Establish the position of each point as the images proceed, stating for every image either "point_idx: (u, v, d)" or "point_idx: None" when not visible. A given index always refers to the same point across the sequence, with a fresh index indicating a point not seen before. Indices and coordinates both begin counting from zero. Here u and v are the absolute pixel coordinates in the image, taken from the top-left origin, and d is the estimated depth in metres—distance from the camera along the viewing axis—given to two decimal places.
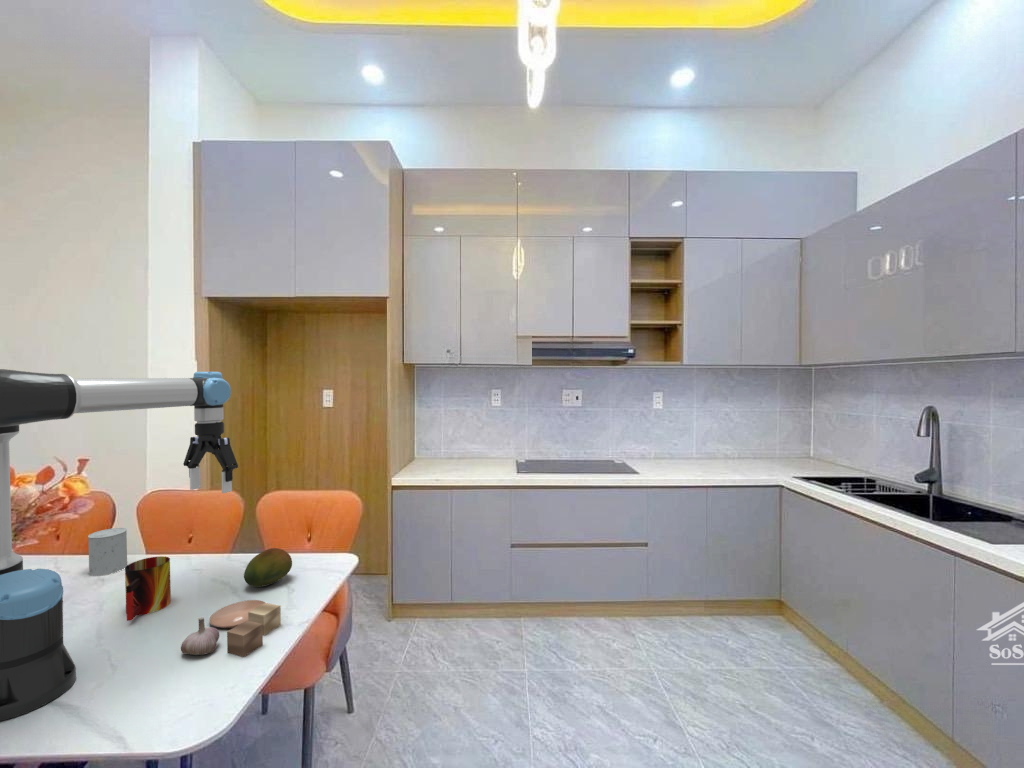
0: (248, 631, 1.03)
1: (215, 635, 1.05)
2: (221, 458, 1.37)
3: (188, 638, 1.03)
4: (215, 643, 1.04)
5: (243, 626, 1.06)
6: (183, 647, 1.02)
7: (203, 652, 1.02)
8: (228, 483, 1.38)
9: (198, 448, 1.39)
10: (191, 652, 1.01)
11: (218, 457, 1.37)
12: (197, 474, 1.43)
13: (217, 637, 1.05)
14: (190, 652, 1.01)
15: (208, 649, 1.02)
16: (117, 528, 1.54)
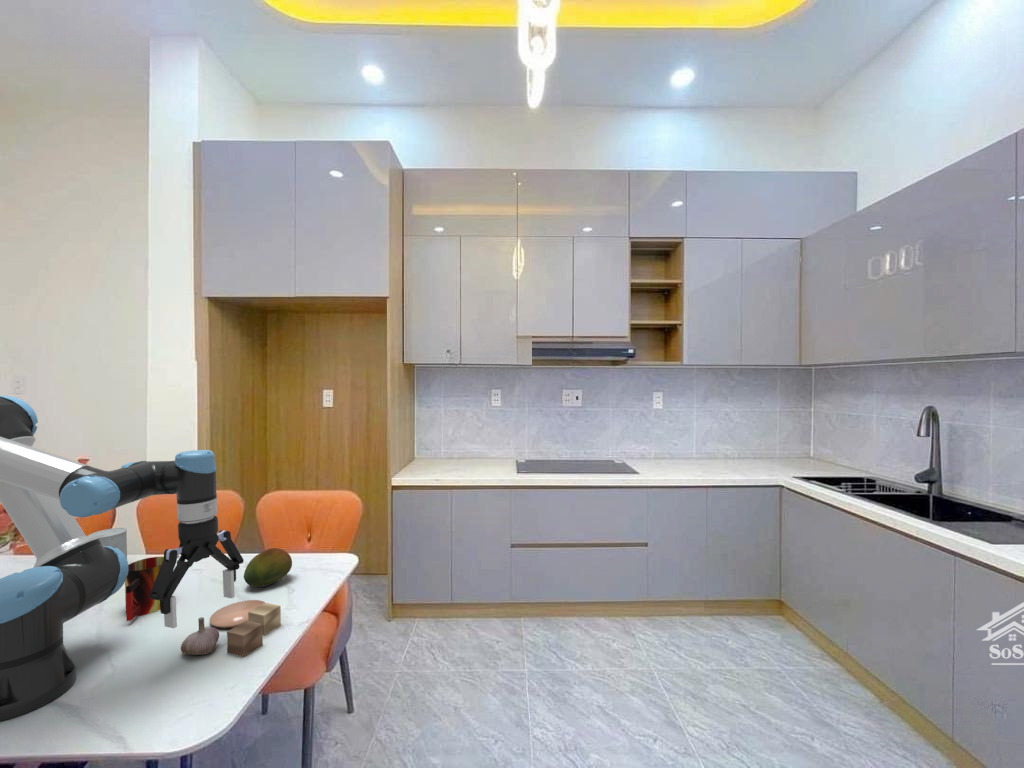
0: (248, 631, 1.03)
1: (215, 636, 1.05)
2: (170, 576, 0.99)
3: (188, 638, 1.03)
4: (215, 643, 1.04)
5: (243, 626, 1.06)
6: (183, 647, 1.02)
7: (203, 652, 1.02)
8: (169, 615, 0.97)
9: None
10: (191, 652, 1.01)
11: None
12: (228, 579, 1.10)
13: (217, 637, 1.05)
14: (190, 652, 1.01)
15: (208, 649, 1.02)
16: (117, 528, 1.54)
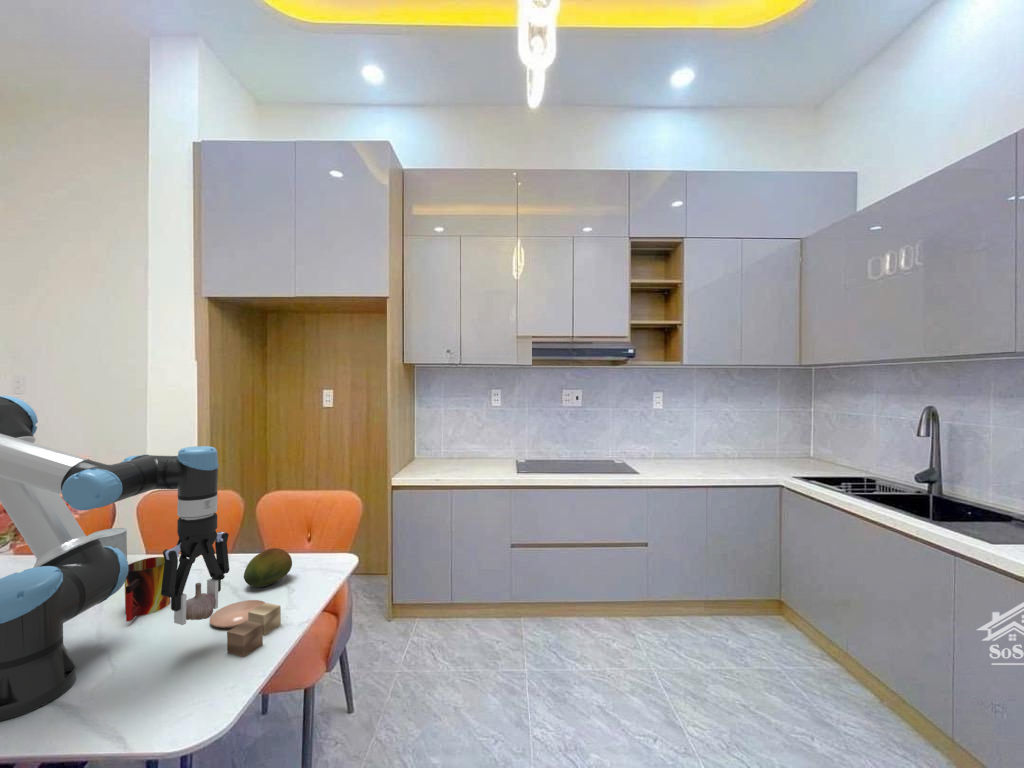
0: (248, 631, 1.03)
1: (212, 602, 1.04)
2: (176, 574, 1.00)
3: None
4: (211, 609, 1.04)
5: (243, 626, 1.06)
6: None
7: (199, 617, 1.01)
8: (179, 612, 1.00)
9: None
10: (187, 617, 1.01)
11: None
12: (212, 589, 1.07)
13: (214, 603, 1.05)
14: (186, 617, 1.01)
15: (204, 615, 1.02)
16: (117, 528, 1.54)
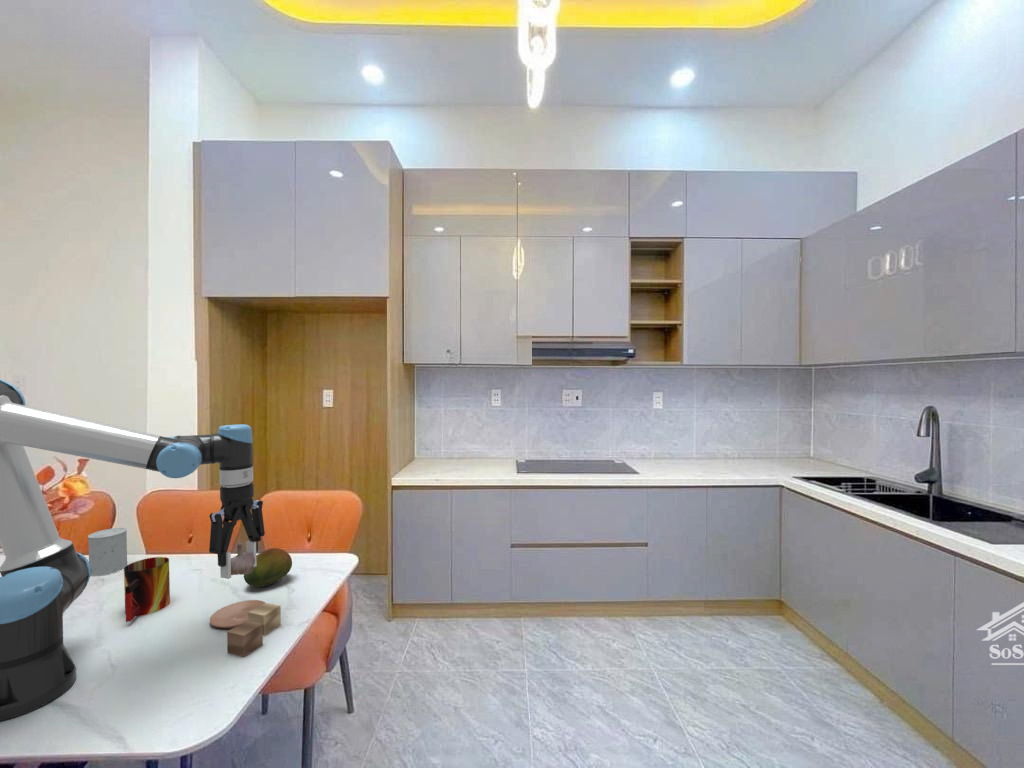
0: (248, 631, 1.03)
1: (252, 559, 1.19)
2: (221, 535, 1.15)
3: None
4: (252, 565, 1.18)
5: (243, 626, 1.06)
6: None
7: (242, 572, 1.16)
8: (224, 568, 1.15)
9: None
10: (232, 572, 1.16)
11: None
12: (251, 550, 1.22)
13: (253, 561, 1.20)
14: (231, 572, 1.16)
15: (246, 570, 1.17)
16: (117, 528, 1.54)
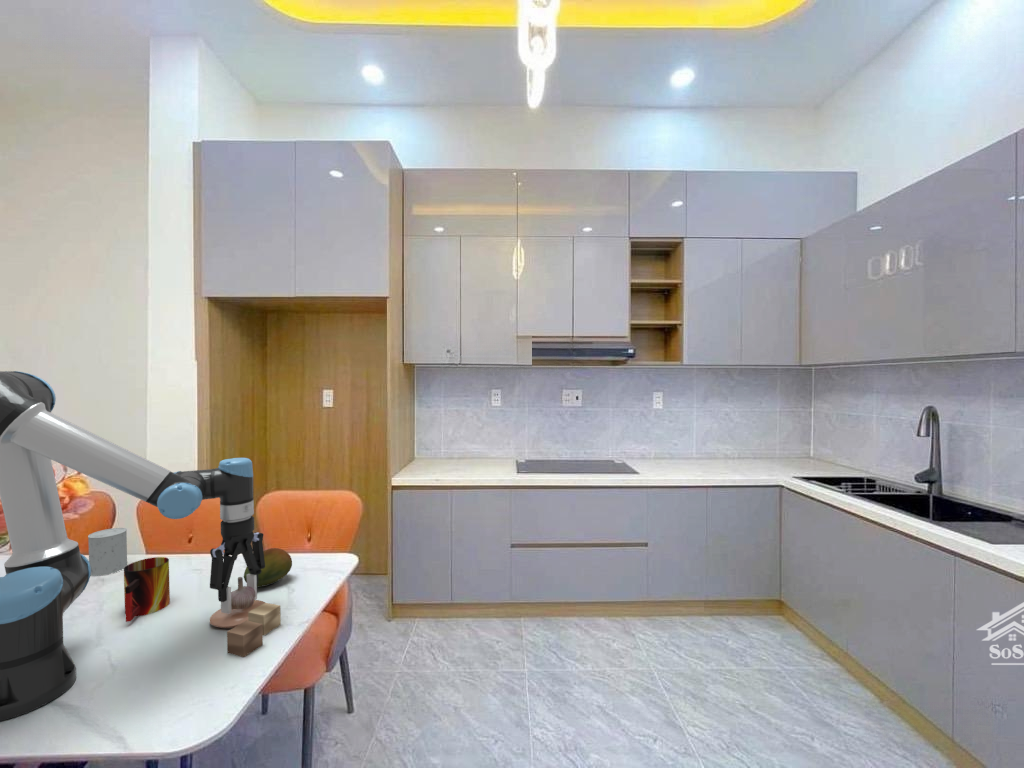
0: (248, 631, 1.03)
1: (252, 593, 1.19)
2: (222, 570, 1.15)
3: None
4: (252, 599, 1.19)
5: (243, 626, 1.06)
6: None
7: (243, 606, 1.16)
8: (225, 603, 1.15)
9: None
10: (232, 606, 1.16)
11: None
12: (251, 583, 1.22)
13: (254, 595, 1.20)
14: (232, 606, 1.16)
15: (247, 604, 1.17)
16: (117, 528, 1.54)
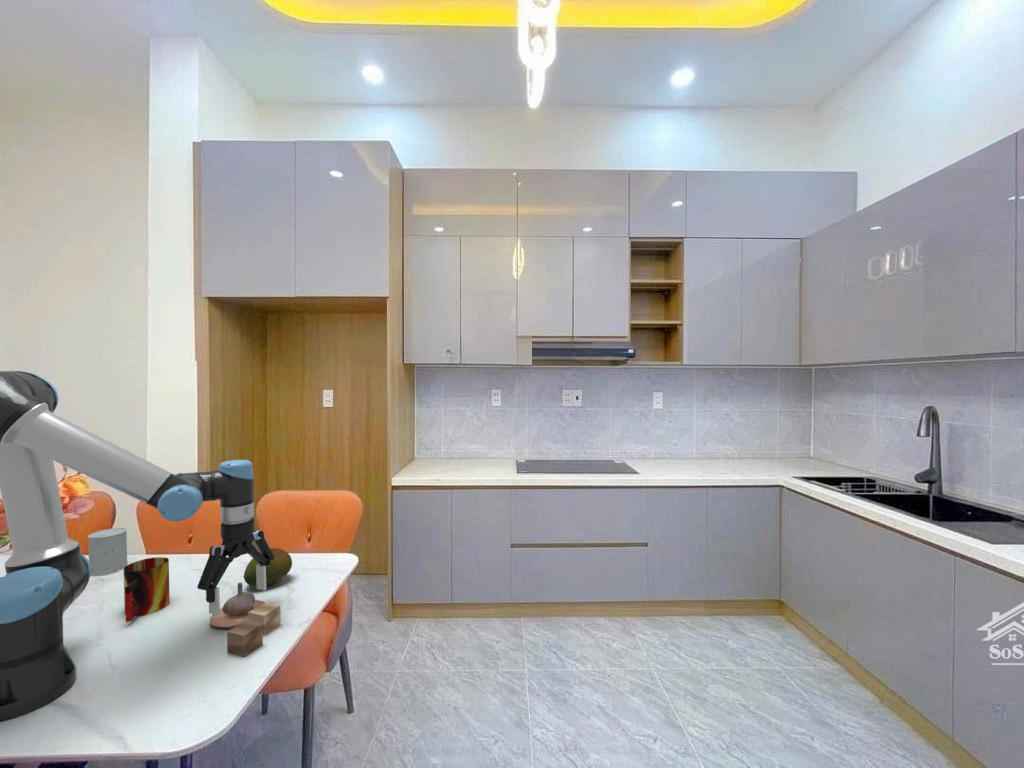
0: (248, 631, 1.03)
1: (252, 599, 1.19)
2: None
3: (229, 600, 1.18)
4: (252, 605, 1.19)
5: (243, 626, 1.06)
6: (225, 608, 1.16)
7: (242, 612, 1.16)
8: (213, 604, 1.12)
9: None
10: (232, 612, 1.16)
11: None
12: (261, 574, 1.25)
13: (253, 600, 1.20)
14: (231, 612, 1.16)
15: (246, 610, 1.17)
16: (117, 528, 1.54)
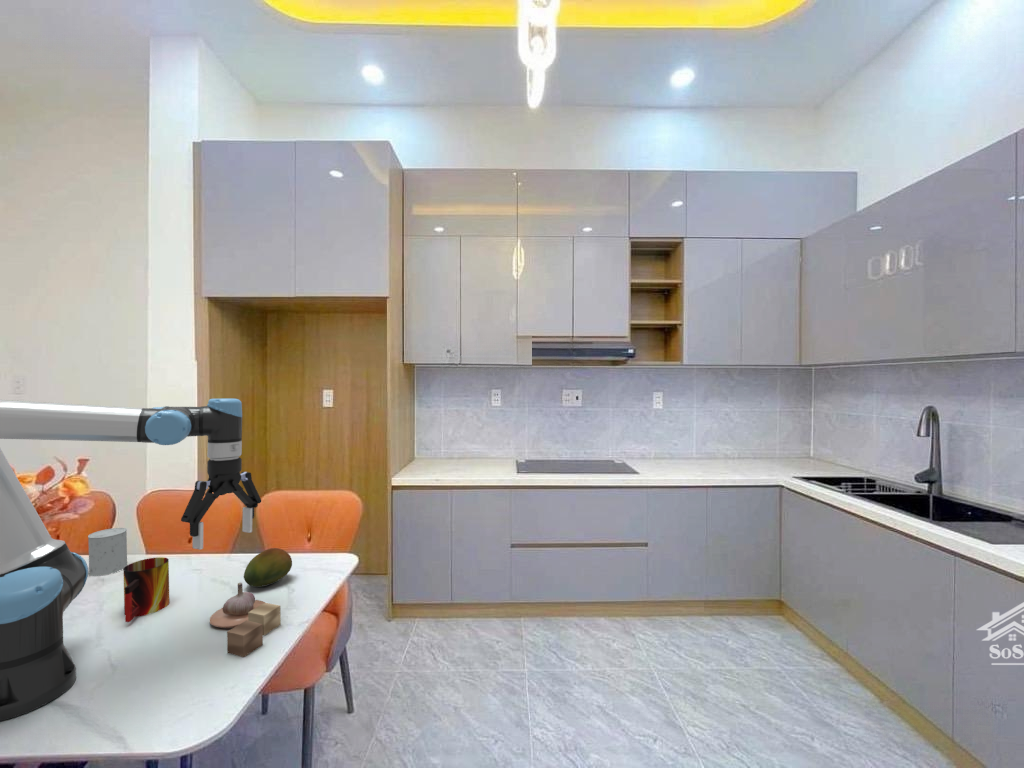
0: (248, 631, 1.03)
1: (252, 599, 1.19)
2: (199, 505, 1.13)
3: (229, 600, 1.18)
4: (252, 605, 1.19)
5: (243, 626, 1.06)
6: (225, 608, 1.16)
7: (242, 612, 1.16)
8: (197, 538, 1.11)
9: None
10: (232, 612, 1.16)
11: None
12: (247, 516, 1.24)
13: (253, 600, 1.20)
14: (231, 612, 1.16)
15: (246, 610, 1.17)
16: (117, 528, 1.54)
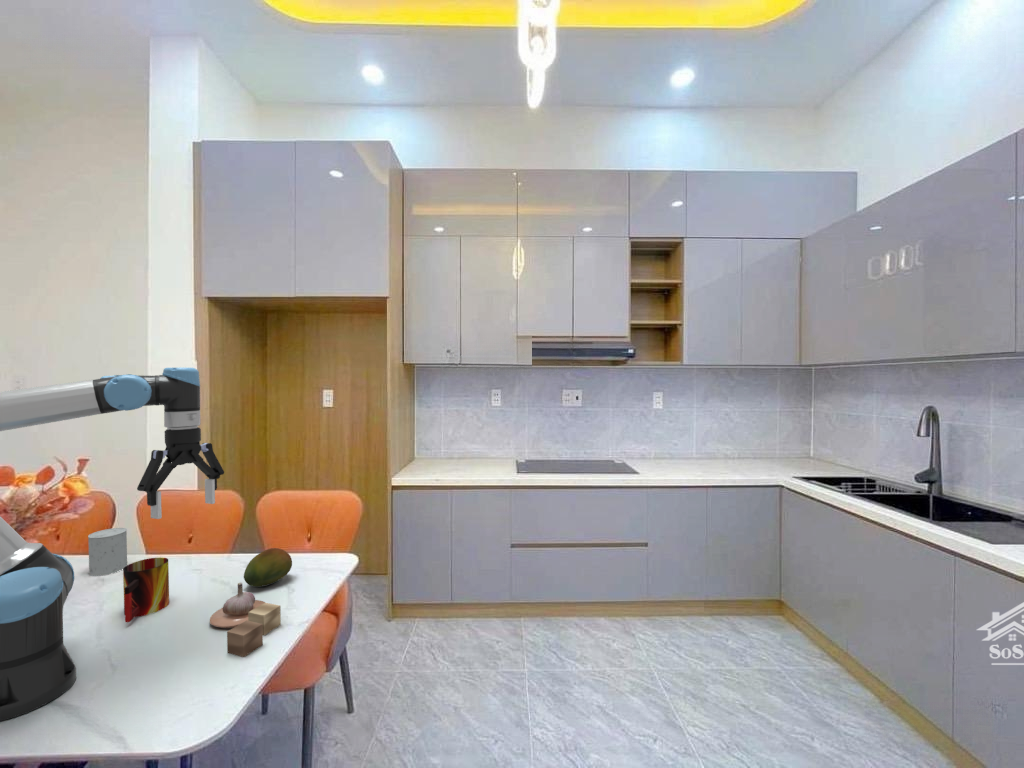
0: (248, 631, 1.03)
1: (252, 599, 1.19)
2: (157, 474, 1.11)
3: (229, 600, 1.18)
4: (252, 605, 1.18)
5: (243, 626, 1.06)
6: (225, 608, 1.16)
7: (242, 612, 1.16)
8: (155, 508, 1.10)
9: None
10: (232, 612, 1.16)
11: None
12: (209, 487, 1.23)
13: (253, 600, 1.20)
14: (231, 612, 1.16)
15: (246, 610, 1.17)
16: (117, 528, 1.54)
